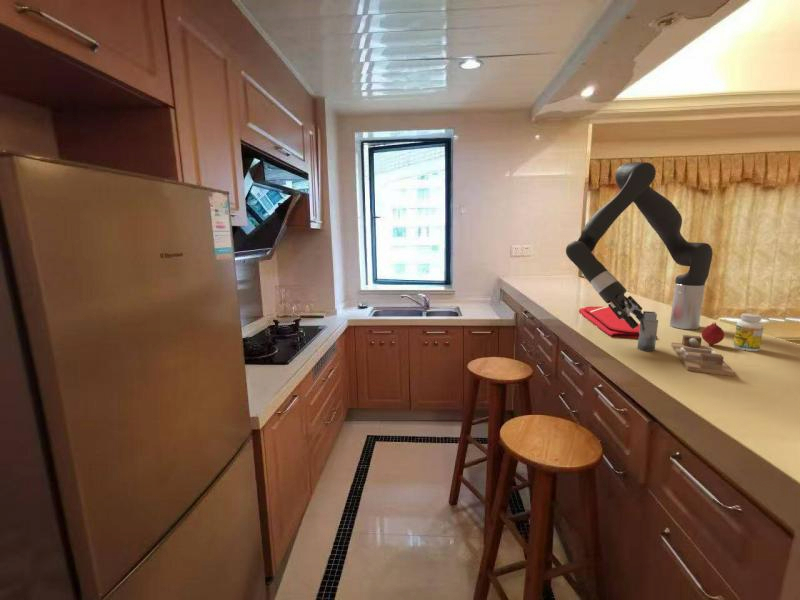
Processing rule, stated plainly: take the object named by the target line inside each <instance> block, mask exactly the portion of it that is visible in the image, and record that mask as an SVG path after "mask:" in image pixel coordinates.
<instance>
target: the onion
mask: <svg viewBox="0 0 800 600" xmlns="http://www.w3.org/2000/svg"><path fill="white" fill-rule="evenodd" d="M700 334H701V338H702V339H703V341H704V342H705V343H706V344H708V346H713V345H716V344H719V343H721V341H722V340H724V338H725V332H724V330H723V328H721V327H720V326H719V325H718V324H717V322H715V321H713V322H711V324H710V325H707V326H705V327H704V328H703V329H702V330H701V333H700Z"/></svg>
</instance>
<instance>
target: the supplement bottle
mask: <svg viewBox="0 0 800 600" xmlns="http://www.w3.org/2000/svg"><path fill="white" fill-rule="evenodd" d="M761 321H762V315H760V314H754V313H748V312H747V313H745V312H744V313H741V315H740V320H738V321H737V322H736V325H735V333H734V340H733V347H734V348H735V349H737V350H741V351H745V350H746V351H745V352H758V351H760V349H761V344H762V339H763V331H764V324H763V323H761Z"/></svg>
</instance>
